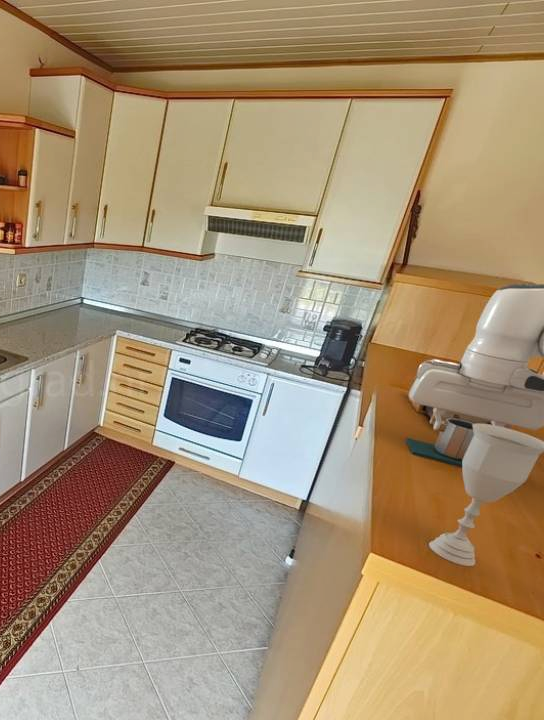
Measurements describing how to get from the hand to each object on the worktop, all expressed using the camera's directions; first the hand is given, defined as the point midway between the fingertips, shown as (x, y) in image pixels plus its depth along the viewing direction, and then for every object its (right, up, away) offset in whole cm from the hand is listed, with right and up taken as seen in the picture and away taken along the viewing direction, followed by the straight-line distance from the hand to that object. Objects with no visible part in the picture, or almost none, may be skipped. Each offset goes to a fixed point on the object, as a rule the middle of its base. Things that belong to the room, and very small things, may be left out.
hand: (459, 435), depth 96 cm
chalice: (-27, -13, -29) cm, 42 cm away
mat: (0, -5, +2) cm, 5 cm away
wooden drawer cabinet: (+22, +3, +29) cm, 37 cm away
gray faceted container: (0, -4, +1) cm, 4 cm away
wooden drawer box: (+16, 0, +17) cm, 23 cm away
